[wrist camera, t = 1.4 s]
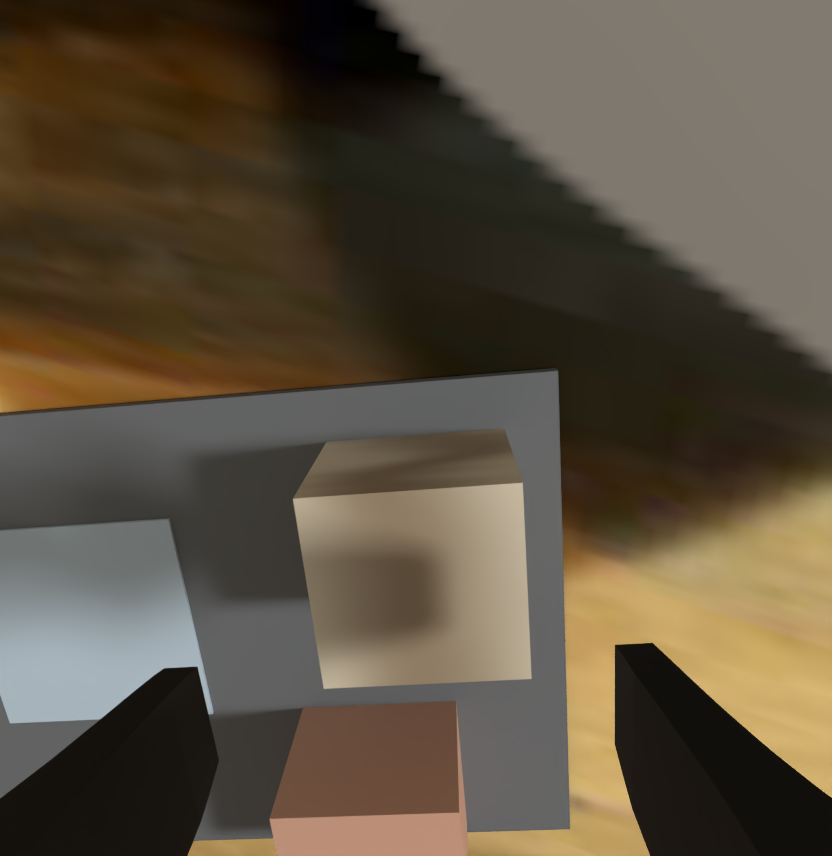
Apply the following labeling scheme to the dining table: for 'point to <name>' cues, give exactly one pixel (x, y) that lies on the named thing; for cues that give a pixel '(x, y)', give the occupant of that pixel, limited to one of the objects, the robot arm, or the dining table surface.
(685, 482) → the dining table surface
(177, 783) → the robot arm
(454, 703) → the terracotta brick
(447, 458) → the birch brick
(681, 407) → the dining table surface
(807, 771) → the dining table surface
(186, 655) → the grey mat
